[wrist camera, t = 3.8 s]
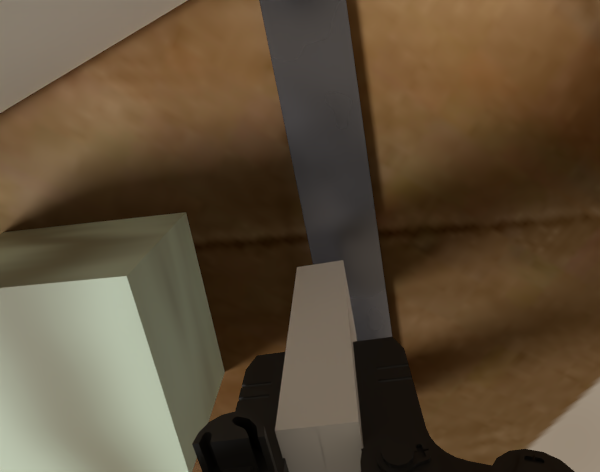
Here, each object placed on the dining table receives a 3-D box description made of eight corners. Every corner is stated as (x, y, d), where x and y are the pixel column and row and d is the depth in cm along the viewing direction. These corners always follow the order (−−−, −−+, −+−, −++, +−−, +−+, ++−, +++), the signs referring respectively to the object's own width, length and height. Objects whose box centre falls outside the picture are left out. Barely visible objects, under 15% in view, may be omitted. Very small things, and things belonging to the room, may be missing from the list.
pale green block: (68, 379, 18) (-18, 486, 14) (6, 230, 16) (-126, 300, 11) (225, 369, 18) (190, 477, 13) (187, 210, 15) (126, 275, 11)
